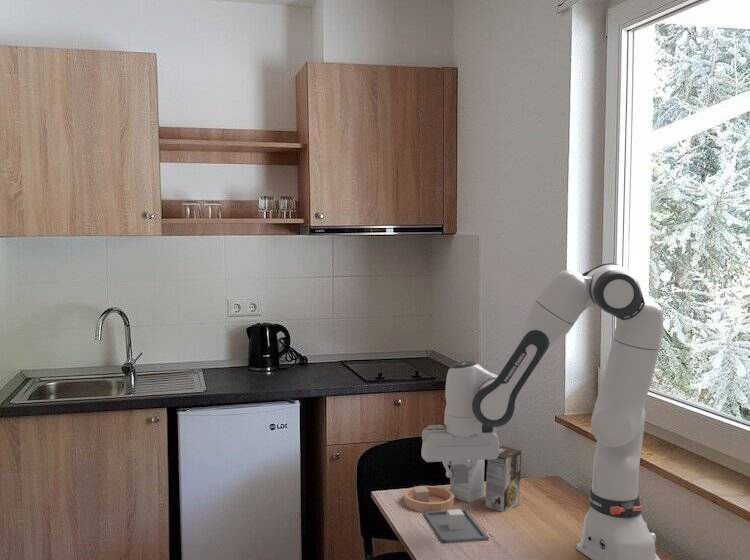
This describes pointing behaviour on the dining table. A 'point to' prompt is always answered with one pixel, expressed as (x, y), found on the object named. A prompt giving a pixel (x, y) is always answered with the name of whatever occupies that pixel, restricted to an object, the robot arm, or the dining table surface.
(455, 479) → the grey cube
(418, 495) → the cube
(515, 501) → the coffee box
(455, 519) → the beige cube
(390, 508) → the dining table surface
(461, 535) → the tray
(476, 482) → the supplement box
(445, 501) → the bowl
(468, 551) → the dining table surface
